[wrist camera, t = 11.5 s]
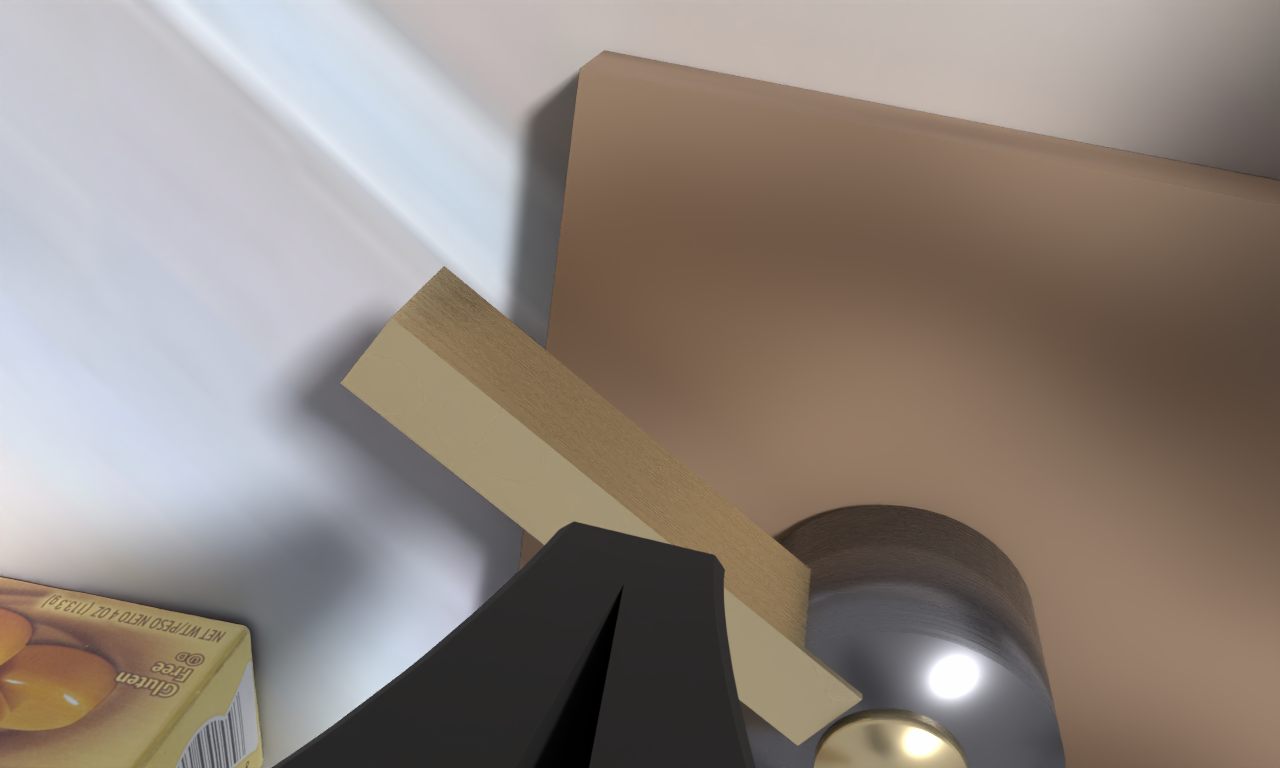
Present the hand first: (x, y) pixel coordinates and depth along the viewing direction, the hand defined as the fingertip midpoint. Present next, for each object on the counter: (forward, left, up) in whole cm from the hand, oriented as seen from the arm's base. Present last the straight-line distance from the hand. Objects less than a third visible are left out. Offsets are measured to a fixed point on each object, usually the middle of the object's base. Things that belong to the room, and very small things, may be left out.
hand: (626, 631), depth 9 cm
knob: (-3, -1, -7) cm, 7 cm away
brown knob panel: (-7, -6, -9) cm, 13 cm away
